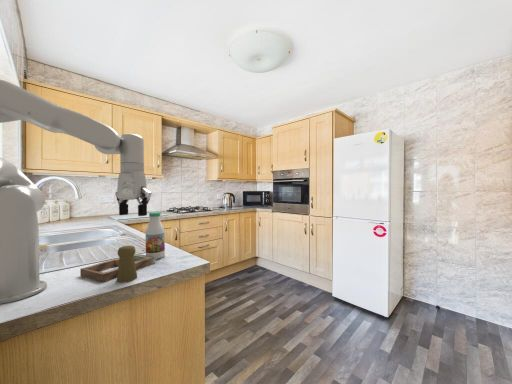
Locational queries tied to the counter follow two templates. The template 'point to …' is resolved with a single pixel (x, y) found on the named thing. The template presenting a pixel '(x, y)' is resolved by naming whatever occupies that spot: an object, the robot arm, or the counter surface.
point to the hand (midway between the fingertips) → (132, 215)
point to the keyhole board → (94, 270)
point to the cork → (126, 264)
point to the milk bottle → (155, 236)
